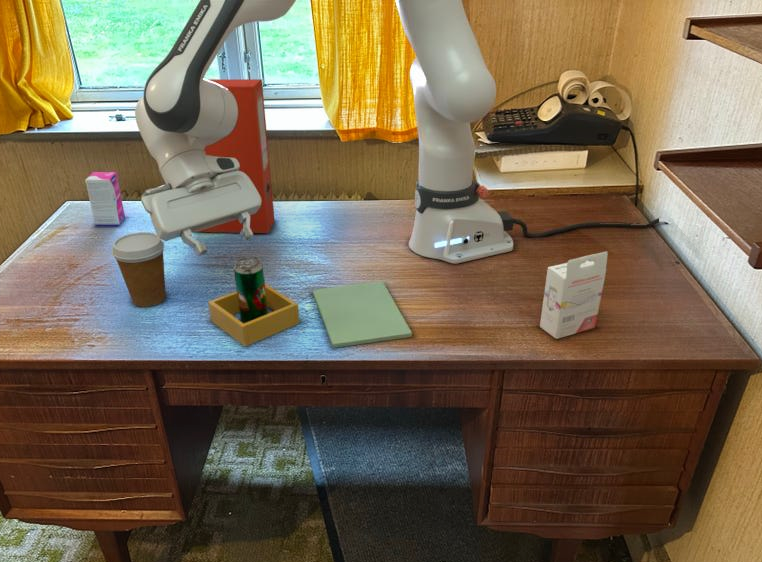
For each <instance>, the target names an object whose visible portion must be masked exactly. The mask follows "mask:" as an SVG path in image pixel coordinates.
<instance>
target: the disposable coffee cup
mask: <svg viewBox="0 0 762 562" xmlns="http://www.w3.org/2000/svg"><path fill="white" fill-rule="evenodd" d="M165 247H166V245H165V241H164V240H162V239H160V238H159V237H158V235H157V233H155V232H149V231H148V232H147V231H141V232H132V233H127V234H124V235H123V236H120V237H118V238H116V239H115V240H114V241H113V242H112V249H111V251H110V252H111V255H112V256H113V258H114V259H115V260H116V262H117V265H118V268H119V270H120V273H121V275H122V278H123V280H124V283H125V286H126V289H127V291H128V293H129V296H130V298H131V301H132V304H133V305H134V306H137V307H141V308H146V307H153V306H156V305H159V304H161V303H163V302H164V301H166V298H167V293H166V277H165V258H164V250H165Z"/></svg>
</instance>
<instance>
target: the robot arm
mask: <svg viewBox="0 0 762 562" xmlns="http://www.w3.org/2000/svg"><path fill="white" fill-rule="evenodd" d="M296 1H297V0H199V2H198V3H197V5H196V7H195V8H194V10H193V12H192V13H191V15H190V17H189V19H188V20H187V22H186V24H185V25H184V28H183V29H182V30H181V32H180V34H179V36H178V37H177V39H176V41H175V43H174V44H173V46H172V48H171V49H170V51H169V52H168V53H167V55H166V57H164V58H163V60H161V62H160V63H159V64H158V65H157V66H156V67H155V68H154V69H153V70H152V72H151V73H150V75H149V76H148V77H147V79H146V82H145V84H144V88H143V95H142V96H141V98H140V99H139V100H138V102H137V103H136V106H135V109H134V115H135V117H134V118H135V122H136V125H137V128H138V131H139V133H140V136H141V138H142V140H143V143H144V144H145V147H146V149H147V151H148V152H149V154H150V155H151V157H152V158H153V159H154V160H155V161H156V163H157V165H158V170H159V174H160V175H161V178H162V179H163V181H164V184H163V185H160V186H157V187H155V188H148V189H146V190H145V192H144V193H143V194H142V195H141V197H140V202H141V204H142V206H143V208H144V210H145V212H146V213H148V214H149V217H150V220H151V223H152V227H153V229H154V232H155V234H157V235H158V237H159V238H160V239H161V240H162V241H163V242H168V241H172V240H174V239H177V238H180V239H181V241H182V243H184V244H186V245H187V246H189V247H190V248H191V249H193V251H194V252H195V255H196V256H197V257H200V256H203V255H206V254H207V252H208V248H207V247H206V246H205V245H206V244H205V242H204V241H200V242H199V241H198V240H197V239H195V238H194V237H193V233H198V232H197V231H200V230H203V229H207V228H210V227H213V226H216V225H220V224H223V223H226V222H229V221H233V220H236V219H238V220H239V222H240V223H243V229H242V230H241V232H240V233H239V234H240V237H242V240H243V241H244V242H245V241H248V240H251V239H252V238H253V237H254V233H252V231H251V229H250V215H252V214H255V213H256V212H257V211H258V210H259V208H260V206H261V202H262V199H261V197H260V195H259V193H258V191H257V189H256V188H255V186H254V184H253V183H252V181H251V180H250V178H249V177H248V176H247V175H246V174H245V173H244V172H242V171H238V170H239V167H240V165H239V162H238V160H237V159H235V158H229V157H216V156H210V155H206V153H205V151H204V148H205V147H208V146H210V145H213V144H215V143H216V142H218V141H220V140H222V139H223V138H225V137H227V136H228V135H229V134H230V133H231V132H232V131H233V130H234V128H235V126H236V124H237V121H238V104H237V101H236V99H235V97H234V95H233V94H232V92H231V91H230V90H228V89H227V88H225V87H223V86H221V85H219V84H217V83H214V82H212V81H210V80H207V79H208V78H205V76H206V74H207V72H208V70H209V69H210V67H211V65H212V64H213V62H214V61H215V59H216V57H217V55H218V54H219V53H220V51H221V49H222V47H223V45H224V44H225V42H226V40H227V39H228V38H229V36H230V35H231V34H232V32H234V31H235V30H236V29H238V28H240V27H241V26H244V25H246V24H251V23H265V22H266V23H267V22H271V21H275V20H278V19H281V18H282V17H284V16H286V15H287V13H289V11H290V10H291V8H292V7H293V6H294V4H295V3H296ZM394 1H395V6H396V8H397V11H398V15H399V18H400V22H401V25H402V28H403V31H404V34H405V36H406V38H407V40H408V41H409V44H410V46H411V48H412V50H413V52H414V54H415V58H414V59H413V61H412V63H411V65H410V66H411V67H410V70H409V80H410V84H411V87H412V92H413V101H414V112H415V119H416V127H417V128H416V129H417V135H418V175H417V176H418V177H417V178H418V179H417V181H416V182H415V191H414V205H415V206H414V207H415V209H416V211H415V217H414V222H413V228H412V231H411V236H410V238H409V241H408V247H409V249H410V250H411V251H412V252H413V253H415V254H417V255H419V256H422V257H425V258H428V259H435V260H440V261H444V262H446V263H449V264H454V265H455V264H460V263H465V262H469V261H473V260H478V259H483V258H487V257H491V256H495V255H501V254H504V253H509V252H512V251H513V250H514V240H513V238H512V237H511V235H510V234H509V233H508V232H509V231H513V230H514V225H515V224H516V225H519V226H520V227H521V229H522V234H523V235H524V237H526V238H528V239H534V238H535V239H536V238H544V237H548V236H551V235H556V234H561V233H565V232H569V231H573V230H577V229H583V228H593V227H594V228H595V227H618V228H619V227H622V228H633V229H634V228H636V229H638V228H639V229H640V228H641V229H642V228H643V229H644V228H649V227H654V226H655V225H657V224H660V222H659V218H660V217H658V218H656V219H653V220H651V221H648V222H647V223H649V224H647V225H631V224H633V223H634V222H625V221H591V222H581V223H574V224H571V225H567V226H564V227H560V228H555V229H550V230H546V231H543V232H540V233H531V232H529V231H528V226H527V224H526V222H524V221H522V220H520V219H518V218H513V217H512V215H510V213H509V212H508V211H507V210H502V211H496V209H494V208H493V207H492V206H491V205H489V204H488V203H487V202H485V200H483V199H485V198H486V197H487V196H488V195H489V193H490V191H489V189H488V188H486V187H485V186H484V185H481V184H480V183H479V182H477V181H475V180H474V179H473V177H474V176H473V175H474V161H475V150H476V146H475V140H474V137H473V133H472V128H471V123H475V122H478V121H479V120H481V119H484V117H486V115H488V113H489V112H491V110H492V108H493V106H494V104H495V101H496V97H497V85H496V81H495V80H494V77H493V76H492V74H491V72H490V71H489V69H488V67H487V64H486V62H485V60H484V57H483V54H482V51H481V48H480V46H479V43H478V41H477V38H476V36H475V34H474V32H473V30H472V26H471V25H470V22H469V20H468V17H467V14H466V11H465V8H464V4H463V0H394ZM481 198H482V199H481ZM600 223H603V224H600ZM604 223H622V224H604ZM623 223H624V224H623ZM625 223H626V224H625ZM628 223H629V224H628ZM635 223H636V224H640V223H641V222H635Z"/></svg>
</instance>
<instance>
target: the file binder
mask: <svg viewBox="0 0 762 562" xmlns="http://www.w3.org/2000/svg"><path fill="white" fill-rule="evenodd" d="M206 79H207V80H210V81H212V82H214V83H217V84H219V85H221V86H223V87H225V88H227V89H228V90H230V91H231V92H232V94H233V95H234V97H235V99H236V101H237V104H238V121H237V124H236V126H235V128H234V130H233V131H232V132H231V133H230V134H229V135H228V136H227V137H225V138H223V139H222V140H220V141H218V142H216V143H215V144H213V145H210V146H208V147H205V148H204V151H205V153H206V155H210V156H216V157H229V158H235V159H237V160H238V162H239V165H240V167H239V170H238V171H242V172H244V173H245V174H246V175H247V176H248V177H249V178H250V180H251V181H252V183H253V184H254V186H255V188H256V189H257V191H258V193H259V195H260V197H261V199H262V202H261V206H260V208H259V210H258V211H257V212H256V213H255V214H252V215H250V229H251V231H252V233H253V234H269V232H270V231H271V229H272V227H273V225H274V224H275V210H274V199H273V187H272V177H271V175H272V174H271V167H270V155H269V143H268V131H267V123H266V109H265V99H264V87H263V79H262V78H259V79H257V78H256V79H255V78H254V79H250V78H249V79H247V78H246V79H245V78H242V79H240V78H239V79H237V78H236V79H235V78H233V79H232V78H231V79H229V78H228V79H227V78H226V79H221V78H218V79H215V78H214V79H213V78H212V79H210V78H209V79H208V78H206ZM242 229H243V223H240V222H239V220H238V219H236V220H233V221H229V222H226V223H223V224H220V225H216V226H213V227H210V228H207V229H203V230H200V231H197V232H196V233H234V234H235V233H237V234H240V232H241V230H242Z"/></svg>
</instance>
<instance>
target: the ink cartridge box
mask: <svg viewBox="0 0 762 562" xmlns="http://www.w3.org/2000/svg"><path fill="white" fill-rule="evenodd" d="M608 254H609V251H602V252H598V253H593V254H588V255H584V256H581V257H577V258H573V259H569V260H568V261H567V262H564V263H559V264H556V265H551V266H548V267H547V270H546V278H545V286H544V293H543V299H542V300H543V301H542V307H541V315H540V322H539V328H541V329H542V330H544V332H546V333H547V334H548V335H550V336H551V337H553V338H554V339H556V340H559V339H561V338H565V337H568V336H572V335H575V334H579V333H582V332H585V331H589V330H592V329H595V328H596V325H597V319H598V314H599V310H600V305H601V299H602V294H603V289H604V284H605V279H606V274H607V264H608V256H609V255H608Z"/></svg>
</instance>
